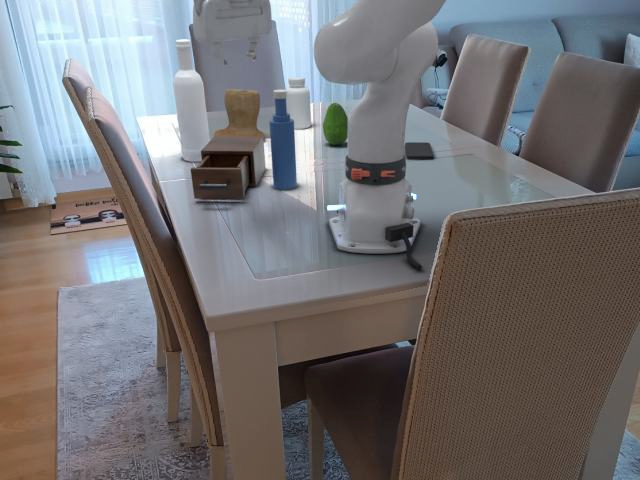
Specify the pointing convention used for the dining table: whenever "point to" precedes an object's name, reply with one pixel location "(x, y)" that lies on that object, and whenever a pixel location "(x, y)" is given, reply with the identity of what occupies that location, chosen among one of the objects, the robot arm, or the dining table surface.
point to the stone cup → (241, 113)
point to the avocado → (335, 124)
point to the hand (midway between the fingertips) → (237, 63)
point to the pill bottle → (298, 103)
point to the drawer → (221, 176)
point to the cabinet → (240, 152)
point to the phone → (418, 150)
